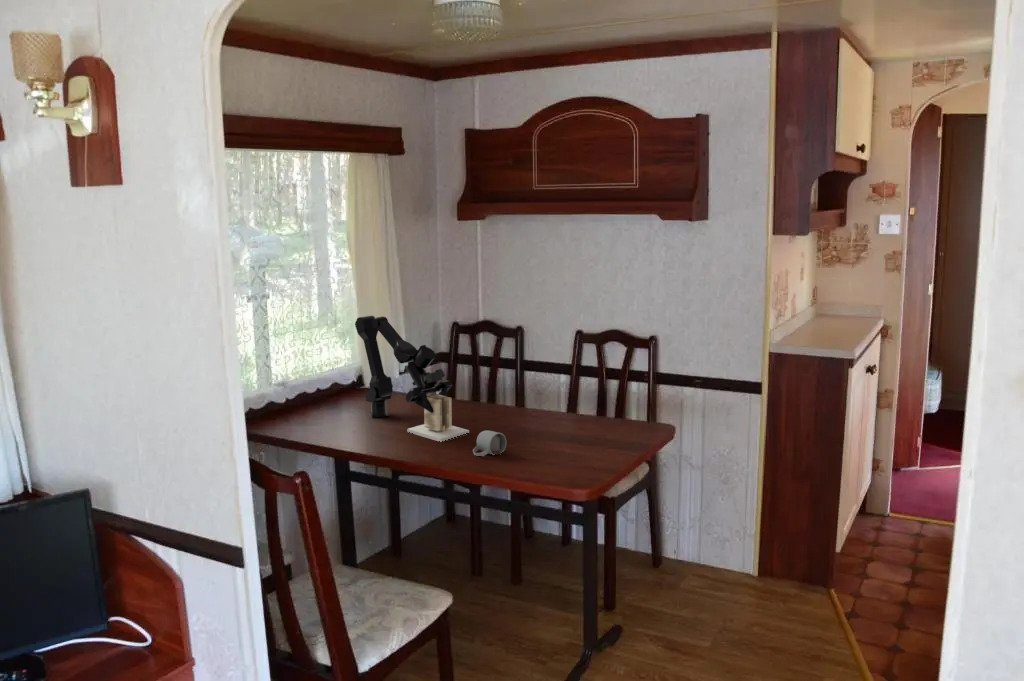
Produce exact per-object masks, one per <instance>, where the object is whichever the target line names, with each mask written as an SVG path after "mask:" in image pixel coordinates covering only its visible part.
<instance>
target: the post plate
mask: <svg viewBox="0 0 1024 681" xmlns="http://www.w3.org/2000/svg"><path fill="white" fill-rule="evenodd" d="M406 431H407V433H409V432H410V434H412V433H413V435H416V436H419V437H423V438H426V439H429V440H433V441H437V442H439V441H440V443H442V441H443V442H446V441H449V440H448V439H450V440H452V439H451V438H453V439H455V438H454V437H456V438H458V437H457V436H460V435H463V434H466V433H469V434H470V430H469V429H466V428H462V427H458V426H455V425H452V427H450V428H445V425H442V430H440V431H436V430H432V429H429V428H425V427H424V423H423V424H419V425H416V426H413V427H409V428H407V429H406ZM466 435H467V434H466ZM463 436H464V435H463ZM460 437H461V436H460ZM445 440H446V441H445Z"/></svg>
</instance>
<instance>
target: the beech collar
mask: <svg viewBox="0 0 1024 681" xmlns="http://www.w3.org/2000/svg"><path fill="white" fill-rule="evenodd" d="M427 399H428V401H429V403H430V405H431V406H432V408H433V411H434V412H433V413H431V412H429V411H428V410H426V409H425V408H423V411H424V413H423V416H424V419H423V421H424V423H423V424H424V427H425V428H429V429H432V430H436V431H440V430H442V425H445V428H450V427H452V426H453V424H452V422H453V419H452V418H453V416H452V415H453V414H452V412H453V411H452V406H453V405H452V401H453V400H452V397H449V396H443V395H439V394H438V395H437V394H435V395H429V396H427Z"/></svg>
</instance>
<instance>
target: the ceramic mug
mask: <svg viewBox="0 0 1024 681" xmlns="http://www.w3.org/2000/svg"><path fill="white" fill-rule="evenodd" d="M506 448H507V438H506V436H505V435H504V434H503V433H502V432H497V431H493V430H482V431H481V432H479V433H478V435H477V437H476V446H475V447H474V448H473V449H472V453H473V455H474V456H475V455H476V456H482V457H485V456H486V455H488V454H489V455H491V454H492V456H494V455H495V454H493V453H492V452H497V451H498V452H500V453H502V452H503V453H504V451H505V450H506ZM479 450H480V451H481V452H477V451H479ZM503 453H502V454H503ZM476 456H475V457H476Z"/></svg>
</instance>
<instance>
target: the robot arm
mask: <svg viewBox="0 0 1024 681" xmlns="http://www.w3.org/2000/svg"><path fill="white" fill-rule="evenodd" d="M354 326H355V329H356V332H357V334H358V336H359V337H360V338H361V339H362V340H363V344H364V347H365V351H366V352H365V353H366V357H367V362H368V365H369V370H370V375H371V378H370V381H369V383H368V384H369V386H368V387H369V390H368V391H367V393H366V394H365V396H364V398H365V401H366V402H368V403H370V410H371V412H369V413H368V414H369V416H370V417H371V418H372V419H374V418H375V419H376V418H386V416H388V417H389V414H388V413H387V400H391V399H392V394H393V390H394V388H393V387H394V386H393V383H392V377H391V376H387V375H386V374H385V372H384V366H383V361H382V356H381V353H380V349H379V345H378V344H379V343H378V340H377V337H378V333H380V334H381V335H382V337H383V338H384V339H385V340H386V342H388V344H389V345H390V347H391V348H392V349H393V355H394V357H395V359H396V360H397V362H398V363H399V364H406V363H408V364H406V365H404V369H403V374H406V373H407V374H409V375H410V378H411V380H412V381H413V382H412V385H413V386H416V387H413V388H410V389H409V391H408V392H407V393H406V395H405V400H406V402H407V404H410V403H413V404H416V405H418V406H420V407H422V408H423V409H424V408H425V409H426V410H428V411H429V412H431V413H433V412H434V411H433V408H432V406H431V405H430V403H429V401H428V399H427V397H428V396H427V395H429V394H433V393H435V395H438V394H439V395H443V396H447V393H448V391H449V390H450V389H451V388H452V386H453V384H452V382H451V381H450V380H447V379H446V380H443V378H444V377H445V372H444V371H443V369H442V368H439V369H436V370H435V372H434V371H433V372H427V371H426V369H427V368H428V367H429V365H430V364H431V363H432V362H433V360H435V358H436V352H435V350H434V349H431V348H430V347H427V345H426V344H421V345H420V346H419V348H418V349H417V348H416V346H414V345H413V344H412V343H411V342H409V341H406V340H405V339H403V338H402V336H400V334H399V333H398V332H397V331H396V329H395V328H394V327H393V326H392V324H390V322H389V320H388V318H387V317H386V316H378V317H377V316H376V317H375V315H367V316H359V317H357V319H356V320H355V322H354ZM438 381H440V382H439V383H438ZM435 385H436V386H435ZM447 397H448V396H447Z"/></svg>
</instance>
